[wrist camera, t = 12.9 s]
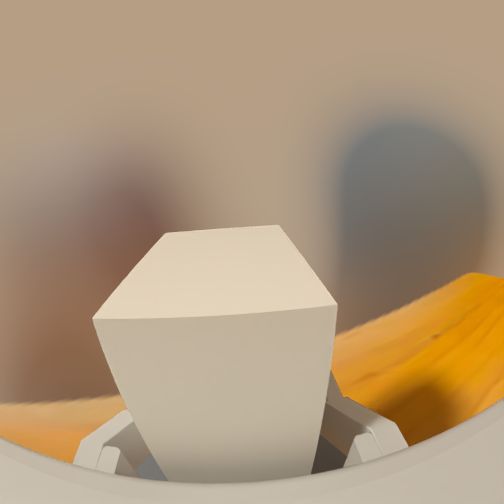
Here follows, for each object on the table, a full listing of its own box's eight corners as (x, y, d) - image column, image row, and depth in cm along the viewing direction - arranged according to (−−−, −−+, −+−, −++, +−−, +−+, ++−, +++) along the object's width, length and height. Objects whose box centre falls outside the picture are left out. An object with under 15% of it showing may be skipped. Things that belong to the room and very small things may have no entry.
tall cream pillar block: (279, 454, 14) (278, 225, 10) (293, 535, 8) (337, 304, 4) (213, 458, 14) (165, 233, 10) (213, 540, 8) (91, 318, 4)
